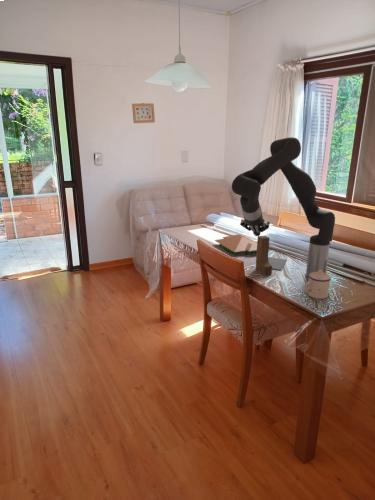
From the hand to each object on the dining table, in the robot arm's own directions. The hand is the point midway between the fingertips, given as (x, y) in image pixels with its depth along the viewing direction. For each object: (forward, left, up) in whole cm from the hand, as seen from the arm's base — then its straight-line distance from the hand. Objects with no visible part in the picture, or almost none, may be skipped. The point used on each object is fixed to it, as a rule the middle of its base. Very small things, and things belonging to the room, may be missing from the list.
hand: (257, 234), depth 163 cm
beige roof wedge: (+22, -54, -25) cm, 64 cm away
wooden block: (0, -20, -25) cm, 32 cm away
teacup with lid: (-27, -1, -25) cm, 37 cm away
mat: (-2, -34, -25) cm, 42 cm away
